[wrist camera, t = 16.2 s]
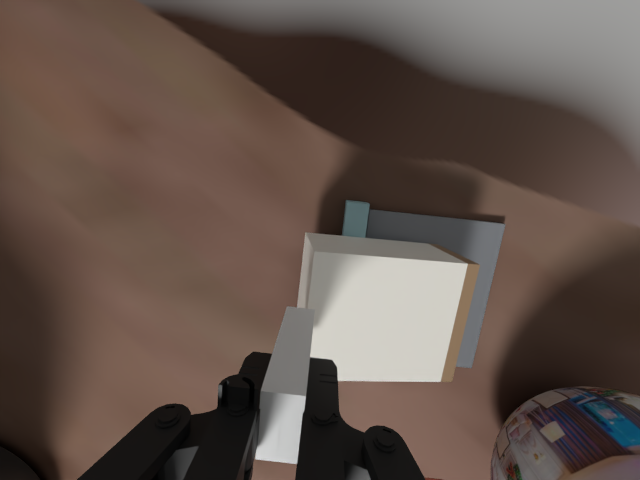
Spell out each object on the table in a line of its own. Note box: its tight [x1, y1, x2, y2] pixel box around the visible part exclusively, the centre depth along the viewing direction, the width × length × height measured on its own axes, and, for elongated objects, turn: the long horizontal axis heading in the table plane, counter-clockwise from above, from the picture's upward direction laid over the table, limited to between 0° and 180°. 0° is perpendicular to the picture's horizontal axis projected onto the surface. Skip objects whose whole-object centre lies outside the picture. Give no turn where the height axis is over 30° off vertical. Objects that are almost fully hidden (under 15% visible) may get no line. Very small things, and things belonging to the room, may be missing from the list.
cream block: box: [297, 232, 480, 382], centre depth 21 cm, size 5×8×10 cm
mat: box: [365, 209, 505, 368], centre depth 24 cm, size 10×12×1 cm
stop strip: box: [342, 200, 370, 238], centre depth 24 cm, size 2×13×2 cm, turn 174°
